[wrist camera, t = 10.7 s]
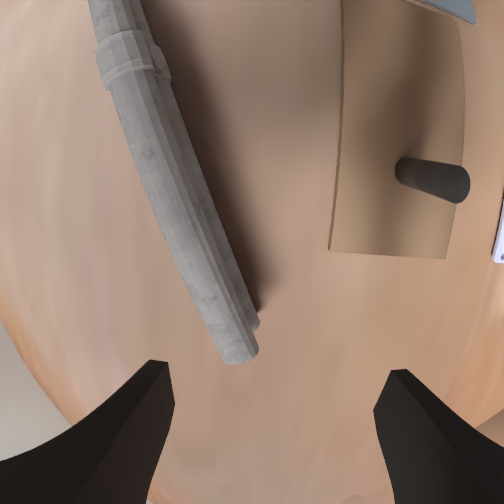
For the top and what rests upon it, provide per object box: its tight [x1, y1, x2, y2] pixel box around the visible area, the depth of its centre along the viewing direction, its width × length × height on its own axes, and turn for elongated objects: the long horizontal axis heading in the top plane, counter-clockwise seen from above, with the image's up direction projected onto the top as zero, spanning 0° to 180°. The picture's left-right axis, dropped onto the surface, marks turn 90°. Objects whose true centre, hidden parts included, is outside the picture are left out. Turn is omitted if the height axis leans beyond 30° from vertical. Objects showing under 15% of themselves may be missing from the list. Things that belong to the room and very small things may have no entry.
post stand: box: [328, 0, 470, 259], centre depth 11 cm, size 8×16×6 cm, turn 177°
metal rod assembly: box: [88, 0, 260, 365], centre depth 13 cm, size 26×3×5 cm, turn 19°
